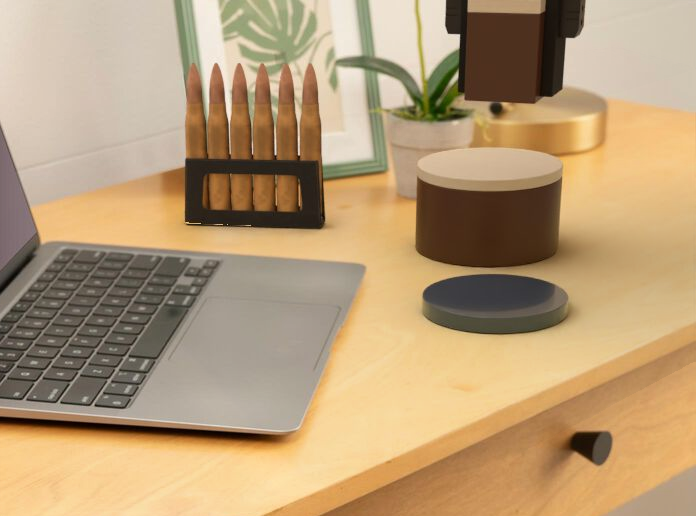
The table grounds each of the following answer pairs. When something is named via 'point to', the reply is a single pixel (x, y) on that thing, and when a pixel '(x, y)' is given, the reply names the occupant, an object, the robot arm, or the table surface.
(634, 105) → the table surface
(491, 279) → the plate
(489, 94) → the cake slice
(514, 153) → the cake
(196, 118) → the ammunition clip
